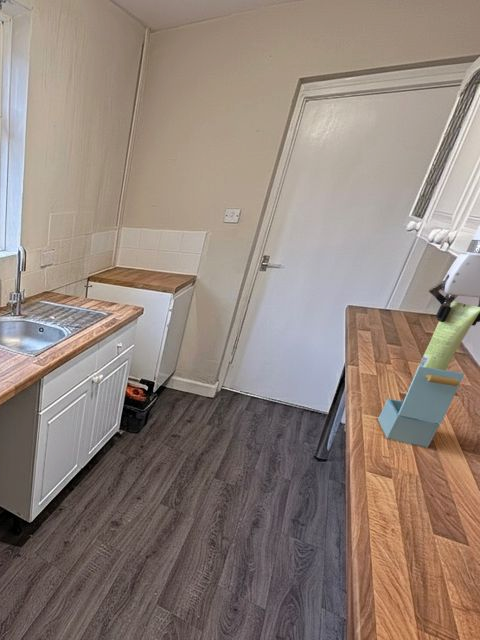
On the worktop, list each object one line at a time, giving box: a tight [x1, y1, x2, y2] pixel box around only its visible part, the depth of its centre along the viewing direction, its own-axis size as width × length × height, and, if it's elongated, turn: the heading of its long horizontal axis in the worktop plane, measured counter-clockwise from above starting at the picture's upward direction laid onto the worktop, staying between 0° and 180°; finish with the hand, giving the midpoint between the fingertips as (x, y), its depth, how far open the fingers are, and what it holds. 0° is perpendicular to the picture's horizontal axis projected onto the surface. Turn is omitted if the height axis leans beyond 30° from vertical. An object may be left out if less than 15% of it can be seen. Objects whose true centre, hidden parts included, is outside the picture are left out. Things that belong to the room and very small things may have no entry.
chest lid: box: [398, 365, 465, 425], centre depth 107 cm, size 14×8×5 cm
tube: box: [416, 300, 480, 370], centre depth 107 cm, size 6×5×20 cm
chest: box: [377, 398, 440, 449], centre depth 117 cm, size 13×8×8 cm, turn 146°
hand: (455, 321), depth 105 cm, fingers closed on tube, 4 cm apart
